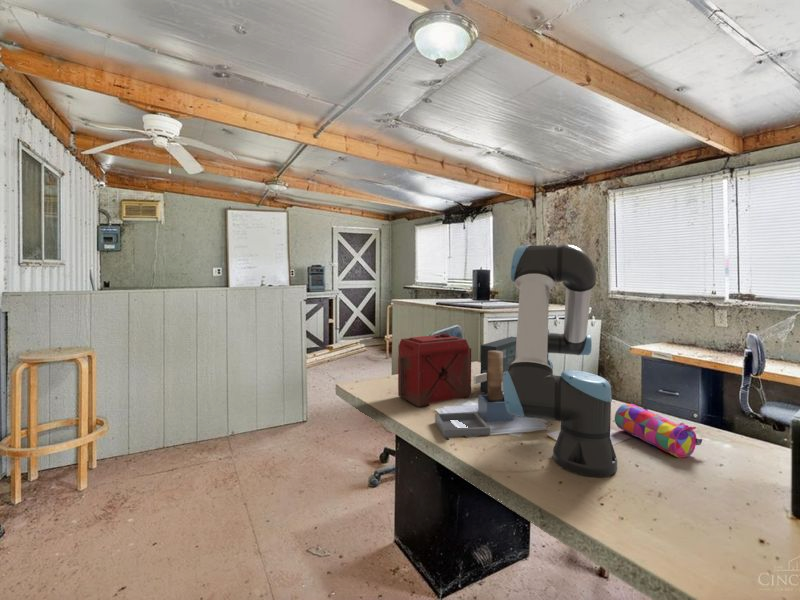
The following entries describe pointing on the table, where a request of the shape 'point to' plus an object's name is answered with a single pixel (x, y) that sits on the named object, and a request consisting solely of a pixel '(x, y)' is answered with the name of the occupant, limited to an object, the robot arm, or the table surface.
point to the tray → (468, 418)
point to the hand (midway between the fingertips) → (488, 383)
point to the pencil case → (657, 430)
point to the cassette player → (500, 345)
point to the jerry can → (434, 369)
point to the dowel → (495, 376)
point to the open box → (493, 409)
